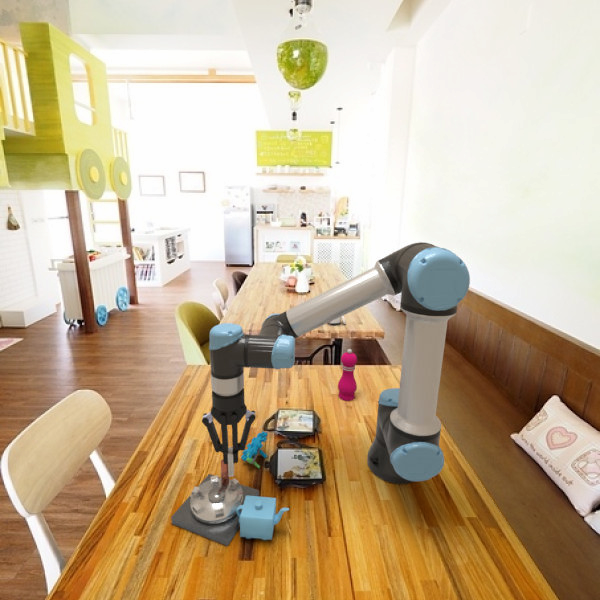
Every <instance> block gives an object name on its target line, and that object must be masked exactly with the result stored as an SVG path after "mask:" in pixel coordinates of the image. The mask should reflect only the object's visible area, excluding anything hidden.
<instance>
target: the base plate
mask: <svg viewBox="0 0 600 600" xmlns="http://www.w3.org/2000/svg"><path fill="white" fill-rule="evenodd" d="M211 476H215V475H214V474H210V473H209V474H207V475H206V477H205V478H204V479H203V480H202V481H201V482H200V484H199V485H198V486H197V487H199V486H200V485H201V484H203V483H204V482H206V481H209V480H211ZM218 478H221V476H218ZM239 485H240V487H241V488H242V491H243V504H244V501H245V497H246V495H248V496H260V490H259V489H256V488H253V487H250V486H248V485H244V484H241V483H239ZM191 496H192V493H191V494H190V495H189V496H188V497H187V499H185V501H183V503H182V504H181V505H180V506H179V507H178V508H177V510H176V511H175V512H174V513H173V514H172V516H171V517H170V518H171V524H172V525H173V526H176V527H179V528H180V529H183V530H186V531H189V532H192V533H194V534H197V535H198V536H201V537H203V538H206V539H208V540H211V541H214V542H216V543H218V544H221V545H224V546H225V547H228V546H229V544H230V543H231V542H232V540H233V538H234V537H235V536H236V534H237V532H238V531H239V530H240V528H239V527H240V523H239V518H240V517H239V516H238V515H237V514H236V515H235V516H233V517H232V518H230V519H229V520H227V521H224V522H221V523H216V524H208V523H203V522H201V521H199V520H197V519H196V518H195V517H194V516H193V514H192V512H191V507H190V499H191ZM243 504H242V505H243ZM239 511H240V513H241V512H242V509H240V510H239Z"/></svg>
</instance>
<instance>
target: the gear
mask: <svg viewBox="0 0 600 600" xmlns="http://www.w3.org/2000/svg"><path fill="white" fill-rule="evenodd" d="M267 438H268V432H266V431H264V430H263V431H262V432H259V433H257V435H256V437H255V436H254V437H252V439H251V443H250V442H248V444H246V446H245V450H242V451H243V452H242V455H241V457H240V458H241V460H243V462H248V464H250V465H254V466H255V467H256V468H257V469H260V467H261V465H259V463H257V462H256V460H257V457H258V455H259V454H260V456H262V457H263V458H264V459H266V458H267V457H268V455H267V453H265V452H264V451H263V450H262V448H263V447H264V444H262V443H265V442H266V441H267Z"/></svg>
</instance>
